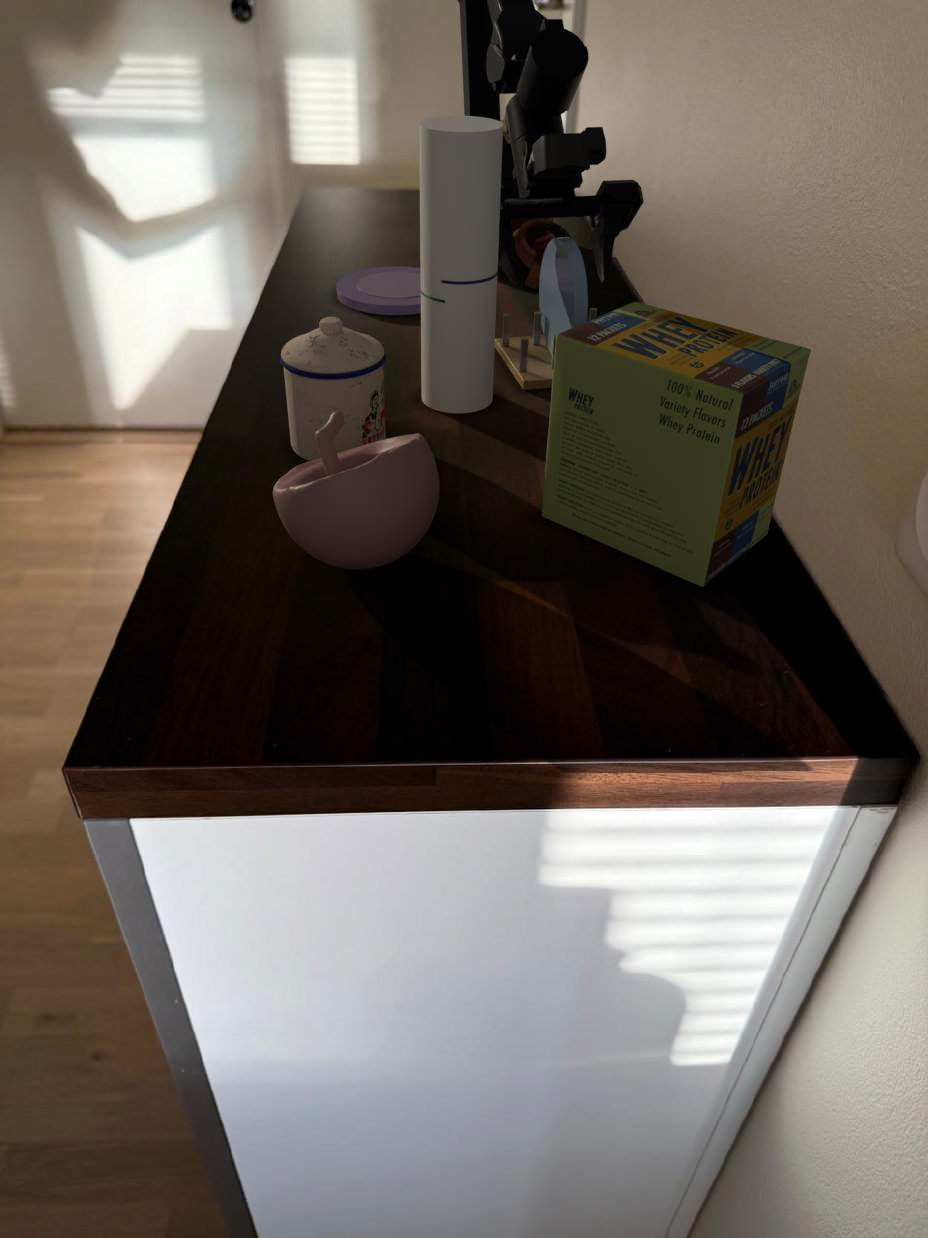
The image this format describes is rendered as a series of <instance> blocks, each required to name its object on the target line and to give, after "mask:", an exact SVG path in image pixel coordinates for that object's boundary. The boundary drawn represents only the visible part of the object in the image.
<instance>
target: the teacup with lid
mask: <svg viewBox="0 0 928 1238" xmlns="http://www.w3.org/2000/svg"><path fill="white" fill-rule="evenodd" d="M318 324H319V326H318V328H315V329H313V330H310V331H309V332H307V333H303V334H299V335H298V336H295V337H293V338H291V339H290V340H289V341H287V342H286V343H285V344H284V345H283V347H282V349H281V352H280V355H279V361H280V365H281V366H282V367H283V376H284V385H285V386H284V387H285V396H286V406H287V414H288V415H287V417H288V428H289V438H290V439H289V440H290V446H291V448H292V450H293V452H294V453H295V454H296V455H297V456H299V457H300V458H302V459H303V460H306V461H307V462H310V461H312V460H316V459H319V458H321V456H320V453H319V450H318V447H317V444H316V441H315V433H316V432H317V431H318V430H319V429H321V428H322V427H324V426H325V425H326V424H327V422H328V421H329V419H330V416H331V414H332V413H333V412H335V411H340V412H342V413H343V415H344V424H343V426H342V427H341V428H340V430H339V431H338V433H337V435H336V437H335V439H334V447H335V450H336V453H341V452H343V451H347V450H349V449H354V448H356V447H360V446H363V445H366V444H370V443H373V442H376V441H380V440H384V439H387V433H386V432H387V429H386V401H385V400H386V399H385V372H384V369H385V367H384V363H385V362H386V359H387V354H386V351H385V349H384V346H383V345H382V343H381V342H380V341H379V340H378V339H377V338H375V337H373V336H371V335H369V334H366V333H362V332H359V331H354V330H353V329H351V328H349V327H345V326H344V322H343V320H341V318H340V317H338V316H337V317H336V316H326V317H323V318H321V319H320V321H319V323H318Z"/></svg>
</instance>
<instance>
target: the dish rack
mask: <svg viewBox="0 0 928 1238" xmlns="http://www.w3.org/2000/svg"><path fill="white" fill-rule="evenodd" d="M511 316H512V315H511V313H507V312H506V313H503V314H502V334H501V335H502V336H501V337H497V338H496V337H495V350H496V351H497V353H498V354H499V356H500V357H501V359H502V360H503V362H504V363H505V365H506V366H507V367H508V370H509V371H510V372H511V375H513V377H514V378H515V380H516V381H517V383H518V385H520V387H521V389H522V390H523V391H527V390H542V389H552V380H553V367H554V356H555V345H556V336H557V335H554V339H553V352H552V355H551V353H550V352H549V350H548V347H547V345H546V342H545V338H544V335H543V334H541V333H542V325H541V320H542V312H540V310H539V311H535V312H534V315H533V318H534V319H533V331H532V335H525V336H511V319H512V318H511ZM597 317H598V308H596V307H591V308H589V314H588V321H590V320H593V319H595V318H597ZM510 336H511V337H510Z"/></svg>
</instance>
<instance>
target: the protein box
mask: <svg viewBox="0 0 928 1238" xmlns="http://www.w3.org/2000/svg"><path fill="white" fill-rule="evenodd" d="M811 353H812V349H810V348H808V347H805V346H801V345H798V344H794V343H790V342H786V341H782V340H778V339H774V338H770V337H766V336H762V335H759V334H756V333H753V332H749V331H745V330H742V329H739V328H735V327H732V326H728V325H724V324H721V323H717V322H715V321H714V322H713V321H709V320H706V319H702V318H698V317H694V316H690V315H686V314H683V313H679V312H675V311H672V310H668V309H665V308H661V307H657V306H654V305H651V304H646V303H643V302H638V301H633V302H630V303H628V304H626V305H624V306H620V307H619V308H616V309H613V310H612V311H609V312H607V313H605V314H602V315H600V316H597V318H595V319H593V320H590V321H589V320H587V322H586V323H583V324H581V325H578V326H576V327H574V328H571V329H569V330H567V331H564V332H562V333H559V334H558V335H557V336H556V345H555V356H554V367H553V380H552V388H551V392H550V394H551V395H550V407H549V418H548V431H547V443H546V452H545V453H546V455H545V467H544V479H543V489H542V491H543V492H542V500H541V502H542V503H541V511H540V514H541V517H542V518H545V519H546V520H548V521H552V522H554V523H556V524H558V525H560V526H562V527H564V528H567V529H569V530H571V531H573V532H576V533H579V534H581V535H583V536H585V537H587V538H590V539H592V540H595V541H597V542H599V543H601V544H603V545H606V546H608V547H610V548H612V549H614V550H617V551H619V552H621V553H624V554H625V555H628V556H630V557H633V558H635V559H637V560H639V561H642V562H644V563H646V564H648V565H651V566H653V567H655V568H657V569H660V570H662V571H665V573H669V574H671V575H673V576H676V577H677V578H679V579H683V580H685V581H687V582H689V583H691V584H694V585H696V586H698V587H701V588H704V587H706V586H707V585H708V584H709V583H710V582H711V581H712V580H713V579H715V578H716V577H717V576H719V575H720V574H721V573H722V572H723V571H725V570H726V569H727V568H728V567H730V566H731V565H732V564H733V563H734V562H736V561H737V560H738V559H739V558H740V557H742V556H743V555H744V554H745V553H747V552H748V551H749V550H750V549H751V548H753V547H754V546H755V545H757V543H759V542H760V541H761V540H762V539H764V538H765V537H766V536H767V535H768V533H769V529H770V524H771V519H772V516H773V512H774V507H775V503H776V498H777V493H778V489H779V485H780V481H781V476H782V472H783V469H784V468H783V467H784V464H785V460H786V454H787V451H788V448H789V447H788V446H789V442H790V439H791V435H792V434H791V433H792V429H793V425H794V421H795V416H796V413H797V409H798V404H799V399H800V395H801V393H802V387H803V384H804V379H805V374H806V371H807V367H808V363H809V359H810V355H811Z"/></svg>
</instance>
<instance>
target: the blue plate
mask: <svg viewBox="0 0 928 1238" xmlns="http://www.w3.org/2000/svg"><path fill="white" fill-rule="evenodd" d="M579 247H580V246H579V245H578V244H577V241H575V240H574V239H573V238H572V237H571V238H569V237H565V238H555V237H552V239H551V241H550V242H549V243H548V245H547V247H546V248H545V250H544V252H543V253H544V256H543V260H542V263H541V264H542V265H541V272H540V282H539V286H538V301H539V302H538V304H539V312H542V320H541V331H542V335H544V338H545V342H546V345H547V347H548V350H549V352H550V353H551V355H552V352H553V339H554V335H558V334H559V333H562V332H564V331H567V330H569V329H571V328H574V327H576V326H578V325H581V324H583V323H586V322H588V313H589V309H588V308H589V296H588V295H589V293H588V280H587V279H588V278H587V272H586V267H585V262H584V258H583V255H582V253H581V249H580V248H579Z"/></svg>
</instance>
